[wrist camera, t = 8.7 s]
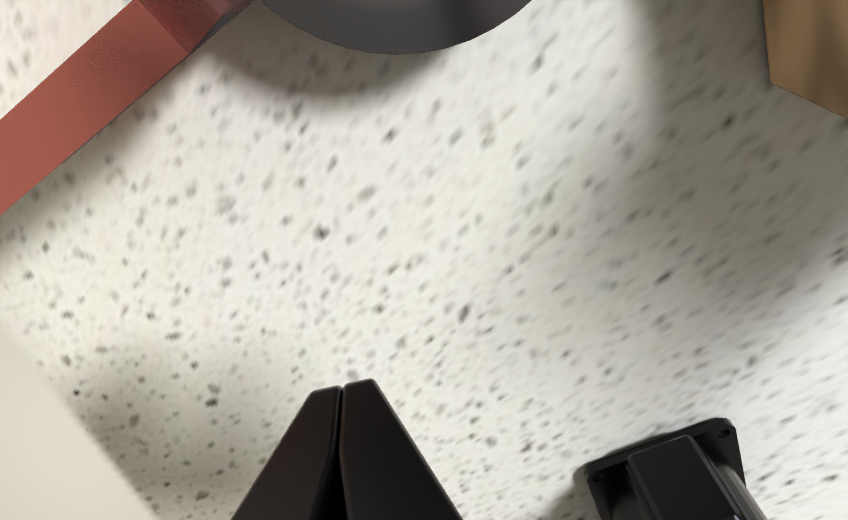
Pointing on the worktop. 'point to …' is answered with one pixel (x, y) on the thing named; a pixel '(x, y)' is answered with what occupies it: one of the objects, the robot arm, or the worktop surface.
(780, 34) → the brown rectangular bar
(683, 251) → the worktop surface
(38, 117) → the handwheel
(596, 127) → the worktop surface
